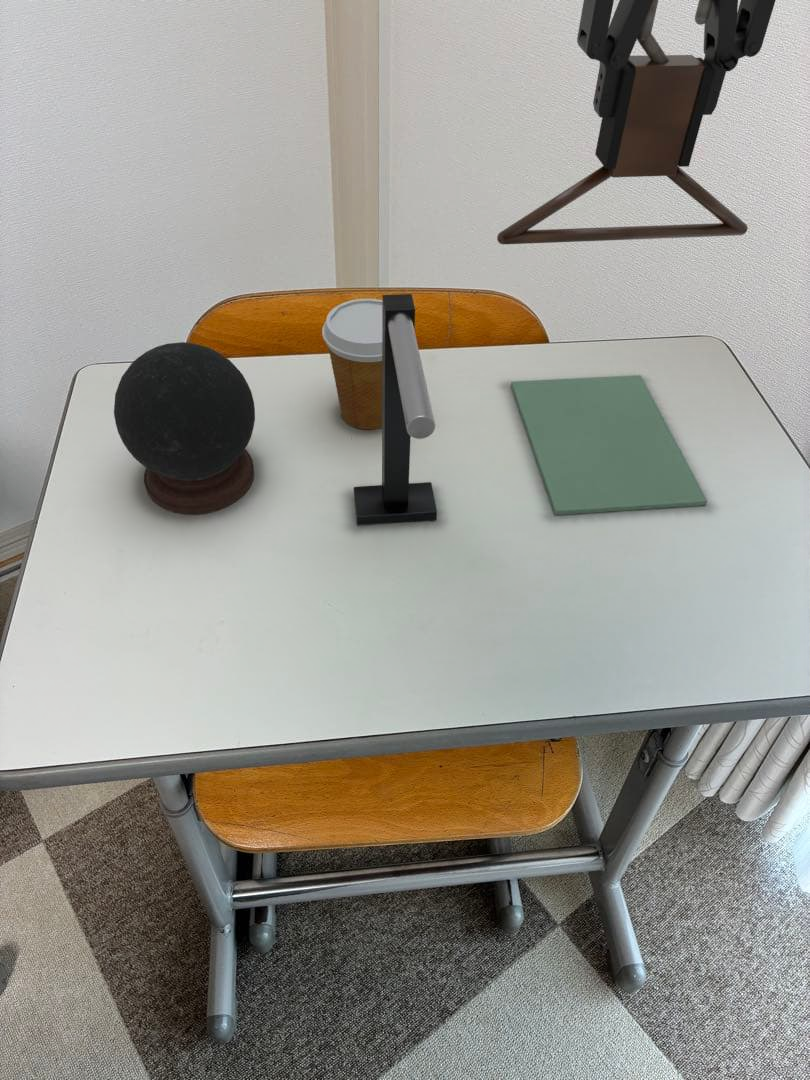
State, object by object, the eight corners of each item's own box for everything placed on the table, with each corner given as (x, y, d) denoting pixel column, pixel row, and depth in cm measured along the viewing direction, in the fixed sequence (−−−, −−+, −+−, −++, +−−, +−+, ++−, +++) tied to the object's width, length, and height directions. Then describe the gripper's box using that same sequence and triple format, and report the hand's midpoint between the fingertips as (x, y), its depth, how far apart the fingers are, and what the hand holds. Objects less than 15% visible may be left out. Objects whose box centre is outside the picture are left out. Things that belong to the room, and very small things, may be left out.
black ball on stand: (131, 448, 86) (94, 326, 75) (252, 427, 89) (234, 307, 78) (140, 533, 78) (101, 409, 67) (274, 507, 80) (257, 384, 70)
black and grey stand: (430, 490, 83) (443, 285, 66) (455, 617, 71) (479, 411, 54) (353, 494, 82) (347, 289, 65) (367, 624, 71) (363, 417, 54)
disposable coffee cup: (375, 378, 96) (375, 287, 87) (427, 417, 91) (432, 324, 82) (310, 408, 92) (303, 315, 83) (361, 450, 87) (358, 357, 78)
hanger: (738, 227, 67) (830, -39, 53) (750, 241, 65) (848, -31, 52) (493, 236, 65) (524, -39, 51) (499, 251, 63) (532, -30, 50)
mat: (510, 385, 96) (511, 381, 95) (639, 379, 97) (640, 374, 97) (554, 515, 81) (555, 511, 80) (706, 505, 82) (707, 501, 82)
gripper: (864, -278, 47) (734, 138, 64) (565, -288, 45) (514, 143, 62) (937, -273, 42) (775, 177, 59) (605, -284, 40) (537, 185, 57)
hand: (641, 159), depth 60 cm, fingers closed on hanger, 5 cm apart
